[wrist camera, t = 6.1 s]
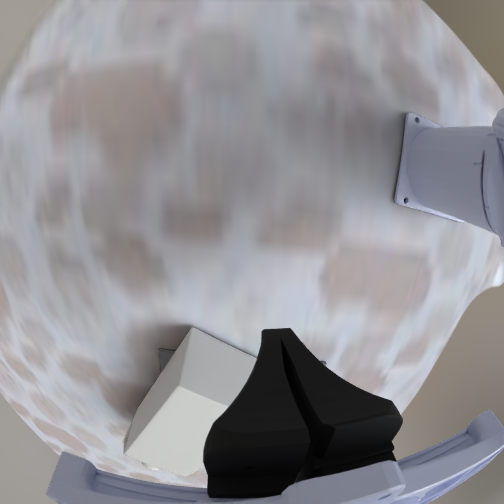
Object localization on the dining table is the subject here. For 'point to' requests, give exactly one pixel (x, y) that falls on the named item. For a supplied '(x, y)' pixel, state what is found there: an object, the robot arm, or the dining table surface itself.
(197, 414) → the milk carton
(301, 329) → the dining table surface
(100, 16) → the dining table surface
